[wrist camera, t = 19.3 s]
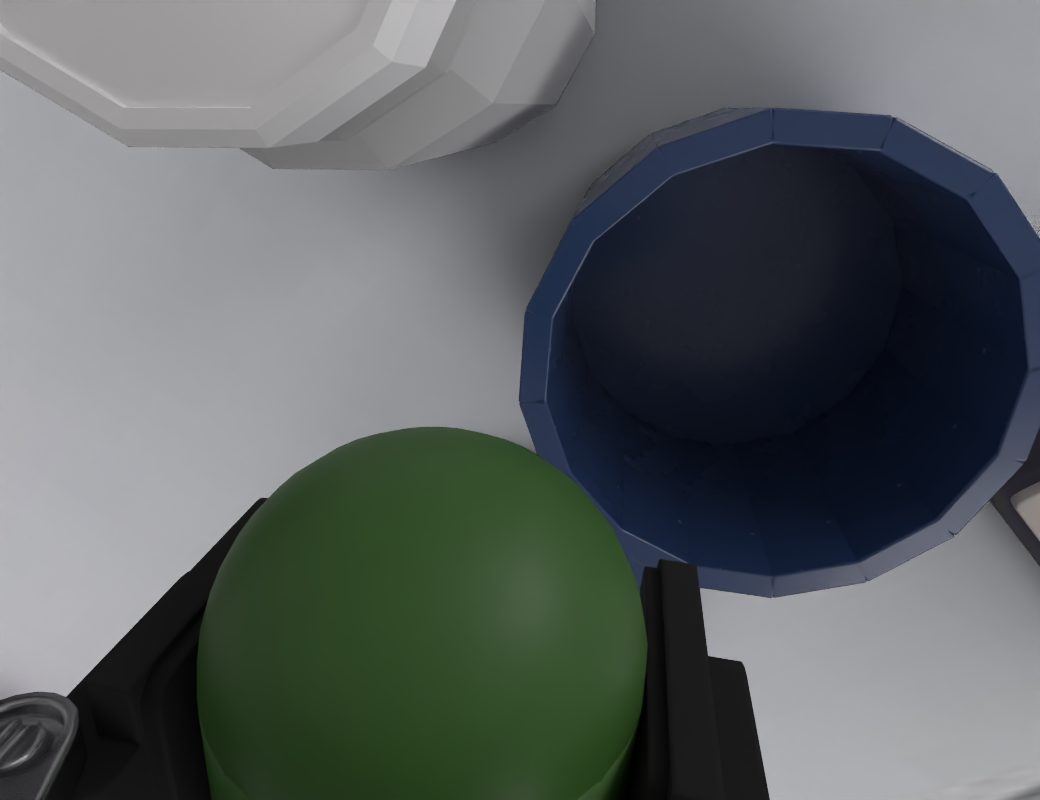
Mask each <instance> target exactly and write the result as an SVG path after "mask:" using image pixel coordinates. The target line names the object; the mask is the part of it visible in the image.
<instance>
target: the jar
mask: <svg viewBox="0 0 1040 800" xmlns="http://www.w3.org/2000/svg"><path fill="white" fill-rule="evenodd" d="M595 11H596V0H0V70H1V71H3V72H5V73H6V74H8V75H10V76H11V77H13V78H15V79H16V80H18V81H20V82H21V83H23V84H25V85H26V86H28V87H30V88H31V89H33V90H35V91H36V92H38V93H40V94H41V95H43V96H45V97H46V98H48V99H50V100H51V101H53V102H55V103H56V104H58V105H60V106H61V107H63V108H65V109H66V110H68V111H70V112H71V113H73V114H75V115H76V116H78V117H80V118H81V119H83V120H85V121H86V122H88V123H90V124H91V125H93V126H95V127H96V128H98V129H100V130H101V131H103V132H105V133H107V134H108V135H110V136H112V137H113V138H115V139H117V140H118V141H120V142H122V143H123V144H125V145H127V146H128V147H208V148H240V149H241V150H243V151H245V152H246V153H248V154H250V155H251V156H253V157H255V158H256V159H258V160H260V161H261V162H263V163H264V164H266V165H268V166H269V167H271V168H273V169H339V170H391V169H395V168H399V167H403V166H407V165H411V164H414V163H418V162H422V161H426V160H430V159H434V158H437V157H441V156H445V155H449V154H453V153H457V152H460V151H464V150H468V149H472V148H476V147H480V146H483V145H487V144H491V143H495V142H497V141H498V140H500V139H501V138H503V137H505V136H506V135H508V134H509V133H511V132H513V131H514V130H516V129H517V128H519V127H521V126H522V125H524V124H526V123H527V122H529V121H530V120H532V119H534V118H535V117H537V116H538V115H540V114H542V113H543V112H545V111H546V110H548V109H550V108H551V107H553V106H554V105H556V104H557V102H558V100H559V98H560V96H561V94H562V93H563V91H564V89H565V87H566V85H567V83H568V82H569V80H570V78H571V76H572V74H573V73H574V71H575V69H576V67H577V65H578V63H579V62H580V60H581V58H582V56H583V54H584V52H585V51H586V49H587V47H588V45H589V43H590V42H591V40H592V38H593V36H594V34H595Z"/></svg>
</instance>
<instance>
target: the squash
mask: <svg viewBox="0 0 1040 800" xmlns="http://www.w3.org/2000/svg"><path fill="white" fill-rule="evenodd" d="M647 649H648V641H647V634H646V628H645V621H644V615H643V609H642V604H641V599H640V594H639V589H638V583H637V580H636V577H635V575H634V573H633V571H632V569H631V566H630V564H629V562H628V560H627V557H626V555H625V553H624V551H623V549H622V547H621V544H620V542H619V540H618V538H617V536H616V534H615V532H614V529H613V527H612V526H611V525H610V524H609V522H608V521H607V520H606V519H605V517H604V516H603V515H602V513H601V512H600V511H599V510H598V508H597V507H596V506H595V505H594V504H593V502H592V501H591V500H590V499H589V497H588V496H587V495H586V494H585V493H584V491H583V490H582V489H581V488H580V487H579V486H578V485H577V484H576V483H575V482H574V481H573V480H571V479H570V478H569V477H568V476H567V475H565V474H564V473H563V472H562V471H560V470H559V469H557V468H556V467H554V466H553V465H551V464H550V463H548V462H547V461H546V460H544V459H543V458H541V457H540V456H538V455H536V454H535V453H533V452H531V451H529V450H528V449H526V448H524V447H522V446H520V445H517V444H515V443H512V442H510V441H508V440H505V439H501V438H498V437H494V436H491V435H488V434H483V433H479V432H474V431H469V430H464V429H458V428H448V427H417V428H407V429H401V430H396V431H390V432H384V433H379V434H375V435H371V436H368V437H364V438H361V439H357V440H355V441H352V442H350V443H347V444H345V445H343V446H340V447H338V448H336V449H335V450H333V451H331V452H330V453H328V454H326V455H325V456H323V457H321V458H320V459H318V460H316V461H315V462H313V463H311V464H310V465H308V466H306V467H305V468H303V469H301V470H300V471H298V472H296V473H295V474H294V475H293V476H291V477H290V478H289V479H288V480H287V481H286V482H285V483H283V484H282V485H281V486H280V487H279V488H278V489H277V490H276V491H275V492H274V493H273V494H272V495H271V496H270V497H269V498H268V499H267V500H266V501H265V502H264V503H263V504H262V505H261V506H260V507H259V509H258V510H257V511H256V512H255V513H254V514H253V515H252V517H251V518H250V519H249V521H248V522H247V523H246V525H245V526H244V527H243V529H242V530H241V532H240V533H239V534H238V536H237V538H236V540H235V541H234V543H233V545H232V547H231V548H230V550H229V552H228V554H227V556H226V557H225V559H224V561H223V563H222V564H221V566H220V569H219V571H218V574H217V576H216V579H215V581H214V584H213V586H212V589H211V591H210V594H209V598H208V601H207V605H206V609H205V613H204V616H203V620H202V624H201V627H200V633H199V644H198V655H197V704H198V715H199V722H200V728H201V735H202V742H203V748H204V755H205V762H206V768H207V775H208V781H209V788H210V795H211V800H624V798H625V793H626V788H627V783H628V778H629V773H630V768H631V763H632V758H633V753H634V748H635V743H636V738H637V732H638V727H639V722H640V717H641V712H642V707H643V702H644V693H645V680H646V665H647Z"/></svg>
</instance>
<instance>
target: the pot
mask: <svg viewBox="0 0 1040 800" xmlns="http://www.w3.org/2000/svg"><path fill="white" fill-rule="evenodd" d="M519 402H520V403H519V405H520V407H521V410H522V413H523V416H524V418H525V421H526V424H527V427H528V430H529V432H530V435H531V438H532V441H533V443H534V446H535V449H536V452H537V455H538V456H540V457H541V458H543V459H544V460H546V461H547V462H548V463H550V464H551V465H553V466H554V467H556V468H557V469H559V470H560V471H562V472H563V473H564V474H565V475H567V476H568V477H569V478H570V479H571V480H573V481H574V482H575V483H576V484H577V485H578V486H579V487H580V488H581V489H582V490H583V491H584V493H585V494H586V495H587V496H588V497H589V499H590V500H591V501H592V502H593V504H594V505H595V506H596V507H597V508H598V510H599V511H600V512H601V513H602V515H603V516H604V517H605V519H606V520H607V521H608V522H609V524H610V525H611V526H612V527H613V529H614V532H615V534H616V536H617V538H618V540H619V542H620V544H621V547H622V549H623V551H624V553H625V555H626V556H627V557H629V558H631V559H633V560H635V561H637V562H638V563H640V564H642V565H644V566H648V567H654V568H657V565H658V562H659V560H660V559H665V560H671V561H678V562H684V563H690V564H695V565H696V566H697V571H698V580H699V588H705V589H712V590H719V591H726V592H733V593H740V594H747V595H754V596H761V597H768V598H772V597H774V598H775V597H781V596H787V595H793V594H799V593H805V592H811V591H817V590H823V589H829V588H835V587H841V586H847V585H853V584H859V583H865V582H866V581H870V580H872V579H874V578H876V577H878V576H879V575H881V574H883V573H885V572H887V571H889V570H891V569H893V568H895V567H897V566H899V565H901V564H903V563H905V562H907V561H909V560H910V559H912V558H914V557H916V556H918V555H920V554H922V553H924V552H926V551H928V550H930V549H932V548H934V547H936V546H938V545H940V544H942V543H943V542H945V541H947V540H949V539H951V538H953V537H954V535H956V534H958V533H959V532H960V531H961V530H962V528H963V527H964V526H965V525H966V524H967V523H968V522H969V521H970V520H971V519H972V518H973V517H974V516H975V515H976V514H977V513H978V512H979V511H980V510H981V508H982V507H983V506H984V505H985V504H986V503H987V502H988V501H989V500H990V499H991V498H992V497H993V496H994V495H995V494H996V493H997V492H998V491H999V490H1000V488H1001V487H1002V486H1003V485H1004V484H1005V483H1006V482H1007V481H1008V480H1009V479H1010V478H1011V477H1012V476H1013V475H1014V474H1015V473H1016V472H1017V471H1018V470H1019V468H1020V467H1021V466H1022V465H1023V464H1024V461H1026V460H1027V458H1028V456H1029V453H1030V450H1031V448H1032V445H1033V443H1034V440H1035V438H1036V435H1037V433H1038V430H1039V428H1040V238H1039V237H1038V235H1037V234H1036V232H1035V231H1034V229H1033V228H1032V226H1031V225H1030V223H1029V222H1028V220H1027V218H1026V217H1025V215H1024V214H1023V212H1022V211H1021V209H1020V208H1019V206H1018V205H1017V203H1016V202H1015V200H1014V199H1013V197H1012V195H1011V194H1010V192H1009V191H1008V189H1007V188H1006V186H1005V185H1004V183H1003V182H1002V180H1001V179H1000V177H999V176H998V174H996V173H994V172H993V171H992V170H991V169H990V168H988V167H986V166H984V165H982V164H981V163H979V162H977V161H975V160H973V159H971V158H970V157H968V156H966V155H964V154H962V153H961V152H959V151H957V150H955V149H953V148H952V147H950V146H948V145H946V144H944V143H943V142H941V141H939V140H937V139H935V138H933V137H932V136H930V135H928V134H926V133H924V132H923V131H921V130H919V129H917V128H915V127H914V126H912V125H910V124H908V123H906V122H905V121H903V120H901V119H899V118H895V117H892V116H890V115H877V114H862V113H848V112H833V111H818V110H803V109H788V108H723V109H720V110H718V111H715V112H712V113H709V114H706V115H703V116H700V117H697V118H694V119H691V120H687V121H685V122H682V123H680V124H677V125H674V126H671V127H669V128H666V129H663V130H660V131H657V132H654V133H652V134H651V135H648V136H647V137H646V138H645V139H643V140H642V141H641V142H640V143H639V144H638V145H637V146H635V147H634V148H633V149H632V150H631V151H630V152H628V153H627V154H626V155H625V156H623V157H622V158H621V159H620V160H619V161H618V162H617V163H616V164H615V165H613V166H612V167H611V168H610V169H609V170H608V171H607V172H605V173H604V174H603V175H602V176H601V177H600V178H599V179H597V180H596V181H595V182H594V183H593V184H592V185H591V187H590V188H589V190H588V191H587V193H586V195H585V197H584V199H583V200H582V202H581V204H580V206H579V208H578V209H577V211H576V213H575V215H574V217H573V218H572V220H571V222H570V224H569V226H568V228H567V230H566V232H565V233H564V235H563V237H562V239H561V241H560V243H559V245H558V247H557V249H556V251H555V253H554V255H553V257H552V259H551V261H550V263H549V265H548V267H547V269H546V271H545V272H544V274H543V276H542V278H541V280H540V282H539V284H538V286H537V288H536V290H535V292H534V294H533V296H532V298H531V300H530V302H529V304H528V306H527V308H526V312H525V316H524V330H523V345H522V360H521V375H520V389H519Z"/></svg>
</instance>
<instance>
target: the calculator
mask: <svg viewBox="0 0 1040 800" xmlns="http://www.w3.org/2000/svg"><path fill="white" fill-rule="evenodd" d="M990 502H991V503H992V504H993V506H994V507H995V508H996V510H997V511H998V512H999V513H1000V515H1001V516H1002V517H1003V519H1004V520H1005V521H1006V523H1007V524H1008V525H1009V527H1010V528H1011V529H1012V531H1013V532H1014V533H1015V535H1016V536H1017V537H1018V539H1019V540H1020V541H1021V542H1022V544H1023V545H1024V546H1025V548H1026V549H1027V550H1028V552H1029V553H1030V554H1031V556H1032V557H1033V558H1034V560H1035V561H1036V562H1037V564H1038V565H1039V566H1040V428H1039V430H1038V433H1037V435H1036V438H1035V440H1034V443H1033V445H1032V448H1031V450H1030V453H1029V456H1028V458H1027V460H1026V461H1024V464H1023V465H1022V466H1021V467H1020V468H1019V470H1018V471H1017V472H1016V473H1015V474H1014V475H1013V476H1012V477H1011V478H1010V479H1009V480H1008V481H1007V482H1006V483H1005V484H1004V485H1003V486H1002V487H1001V488H1000V490H999V491H998V492H997V493H996V494H995V495H994V496H993V497H992V498H991V499H990Z"/></svg>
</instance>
